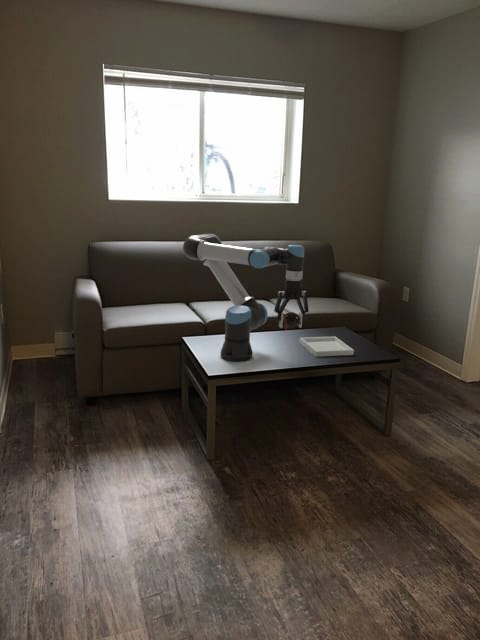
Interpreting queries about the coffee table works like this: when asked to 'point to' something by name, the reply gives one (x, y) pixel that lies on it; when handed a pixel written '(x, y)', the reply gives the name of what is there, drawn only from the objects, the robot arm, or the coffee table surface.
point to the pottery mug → (290, 320)
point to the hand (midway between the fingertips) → (290, 326)
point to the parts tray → (326, 346)
